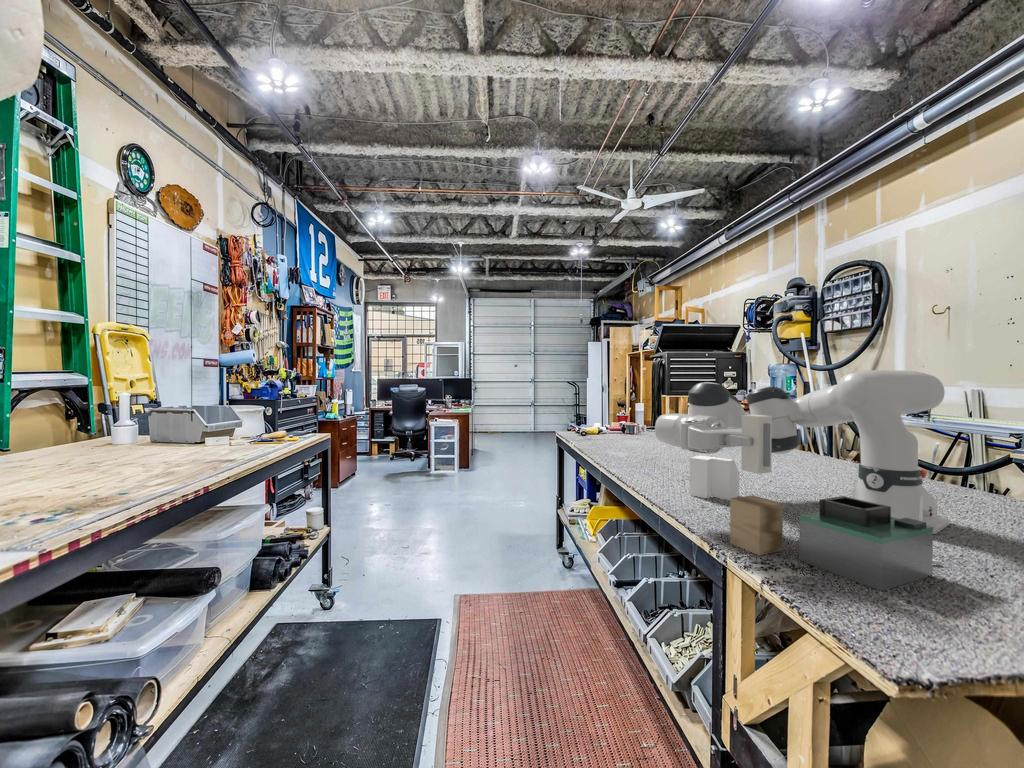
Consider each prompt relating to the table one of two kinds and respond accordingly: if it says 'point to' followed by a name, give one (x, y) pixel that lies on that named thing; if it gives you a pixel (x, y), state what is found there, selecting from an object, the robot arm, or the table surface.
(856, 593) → the table surface
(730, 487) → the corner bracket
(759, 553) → the parts stand
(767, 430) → the keyed plug
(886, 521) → the green-topped socket block
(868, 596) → the table surface
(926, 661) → the table surface
